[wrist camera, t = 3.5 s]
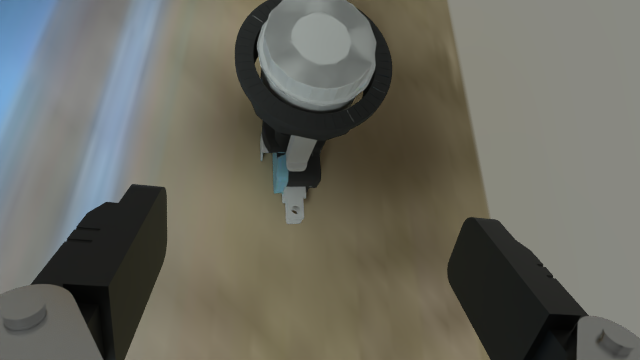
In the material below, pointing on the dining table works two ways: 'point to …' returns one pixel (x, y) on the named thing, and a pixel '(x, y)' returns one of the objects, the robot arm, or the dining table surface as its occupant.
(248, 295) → the dining table surface
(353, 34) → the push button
